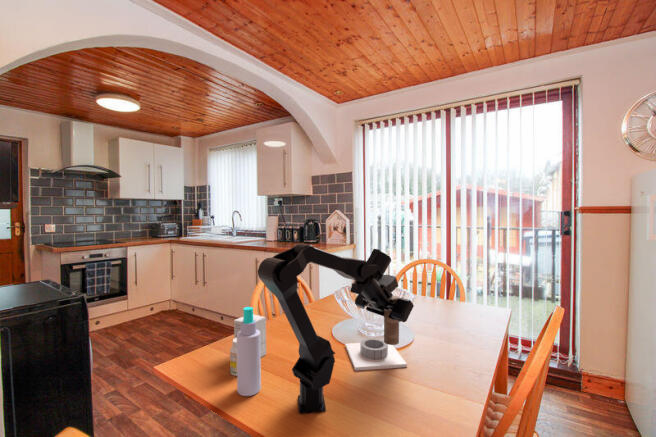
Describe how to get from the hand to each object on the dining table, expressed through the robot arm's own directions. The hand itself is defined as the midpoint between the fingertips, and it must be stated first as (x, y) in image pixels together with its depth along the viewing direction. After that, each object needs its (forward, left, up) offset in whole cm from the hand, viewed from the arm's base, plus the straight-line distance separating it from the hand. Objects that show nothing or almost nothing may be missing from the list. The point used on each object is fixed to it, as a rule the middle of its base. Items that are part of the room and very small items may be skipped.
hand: (394, 318), depth 96 cm
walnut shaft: (-1, +1, -7) cm, 7 cm away
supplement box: (+9, +45, -14) cm, 48 cm away
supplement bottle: (0, +47, -14) cm, 49 cm away
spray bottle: (-10, +43, -14) cm, 47 cm away
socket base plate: (+4, +5, -13) cm, 15 cm away
